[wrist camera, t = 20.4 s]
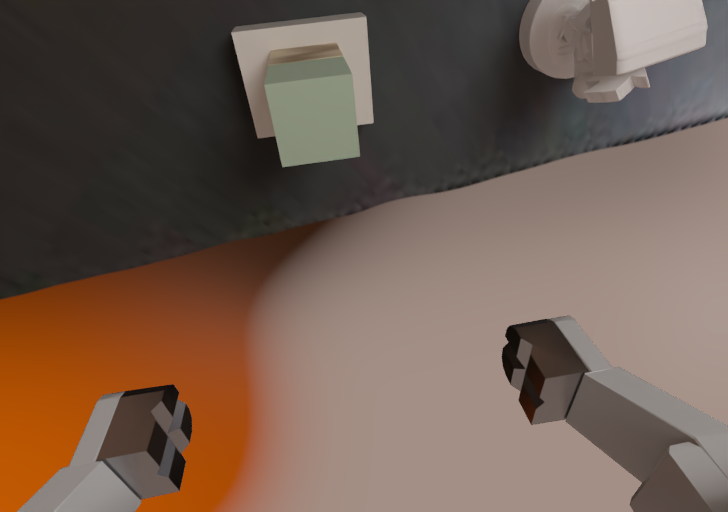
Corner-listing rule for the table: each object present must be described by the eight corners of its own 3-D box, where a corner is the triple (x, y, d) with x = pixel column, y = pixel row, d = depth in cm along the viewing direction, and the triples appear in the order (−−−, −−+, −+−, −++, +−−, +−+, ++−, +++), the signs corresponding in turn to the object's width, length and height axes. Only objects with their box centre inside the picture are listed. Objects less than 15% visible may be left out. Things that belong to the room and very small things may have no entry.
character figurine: (520, 86, 38) (597, 130, 28) (516, -32, 32) (610, -27, 23) (612, 55, 38) (722, 89, 28) (624, -71, 32) (767, -82, 22)
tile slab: (360, 12, 32) (366, 16, 30) (368, 112, 37) (373, 122, 35) (235, 26, 32) (231, 32, 29) (259, 126, 37) (257, 138, 34)
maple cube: (336, 42, 31) (343, 55, 27) (343, 108, 34) (350, 129, 30) (270, 50, 30) (267, 64, 27) (284, 116, 34) (283, 138, 30)
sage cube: (343, 56, 27) (352, 73, 23) (350, 129, 30) (360, 156, 26) (268, 65, 27) (264, 84, 23) (283, 138, 30) (282, 167, 26)
